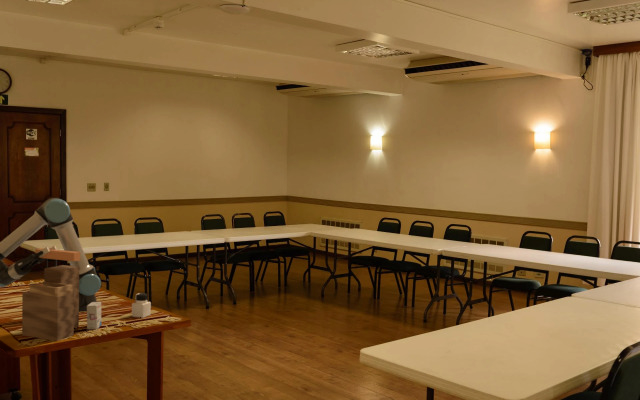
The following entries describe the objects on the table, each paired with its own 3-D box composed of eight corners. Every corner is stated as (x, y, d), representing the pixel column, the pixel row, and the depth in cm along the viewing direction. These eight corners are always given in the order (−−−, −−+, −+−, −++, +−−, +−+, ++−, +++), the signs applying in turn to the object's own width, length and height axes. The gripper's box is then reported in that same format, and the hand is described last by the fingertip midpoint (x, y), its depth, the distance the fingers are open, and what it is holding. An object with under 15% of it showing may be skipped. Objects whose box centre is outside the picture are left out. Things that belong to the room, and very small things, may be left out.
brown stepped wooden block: (58, 324, 306) (58, 264, 304) (91, 329, 298) (92, 268, 296) (22, 335, 285) (22, 271, 283) (57, 340, 278) (57, 275, 276)
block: (41, 256, 302) (41, 248, 302) (80, 260, 294) (80, 252, 294) (35, 257, 299) (35, 249, 298) (74, 261, 290) (74, 253, 290)
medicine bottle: (150, 315, 330) (151, 293, 329) (142, 318, 323) (143, 295, 322) (139, 313, 332) (139, 291, 331) (131, 316, 325) (131, 294, 325)
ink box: (91, 324, 307) (91, 301, 306) (101, 324, 307) (101, 301, 306) (86, 329, 298) (86, 305, 297) (96, 329, 298) (97, 305, 298)
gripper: (36, 272, 313) (68, 253, 305) (8, 278, 297) (41, 257, 289) (31, 259, 313) (62, 239, 306) (3, 264, 298) (35, 243, 290)
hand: (51, 248), depth 297 cm, fingers closed on block, 4 cm apart
